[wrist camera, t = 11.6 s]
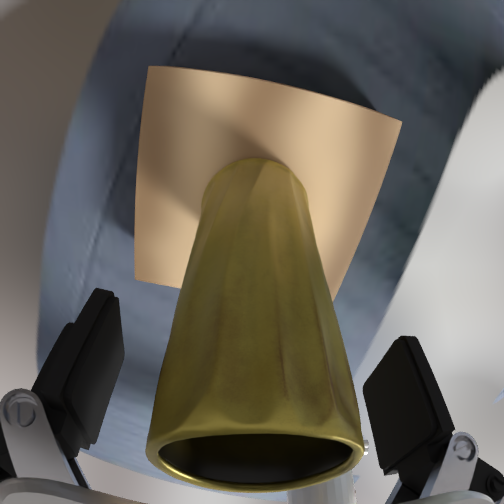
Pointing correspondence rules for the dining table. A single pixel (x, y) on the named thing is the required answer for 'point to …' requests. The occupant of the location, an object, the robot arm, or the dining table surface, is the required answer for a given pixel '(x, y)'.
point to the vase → (255, 347)
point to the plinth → (252, 146)
